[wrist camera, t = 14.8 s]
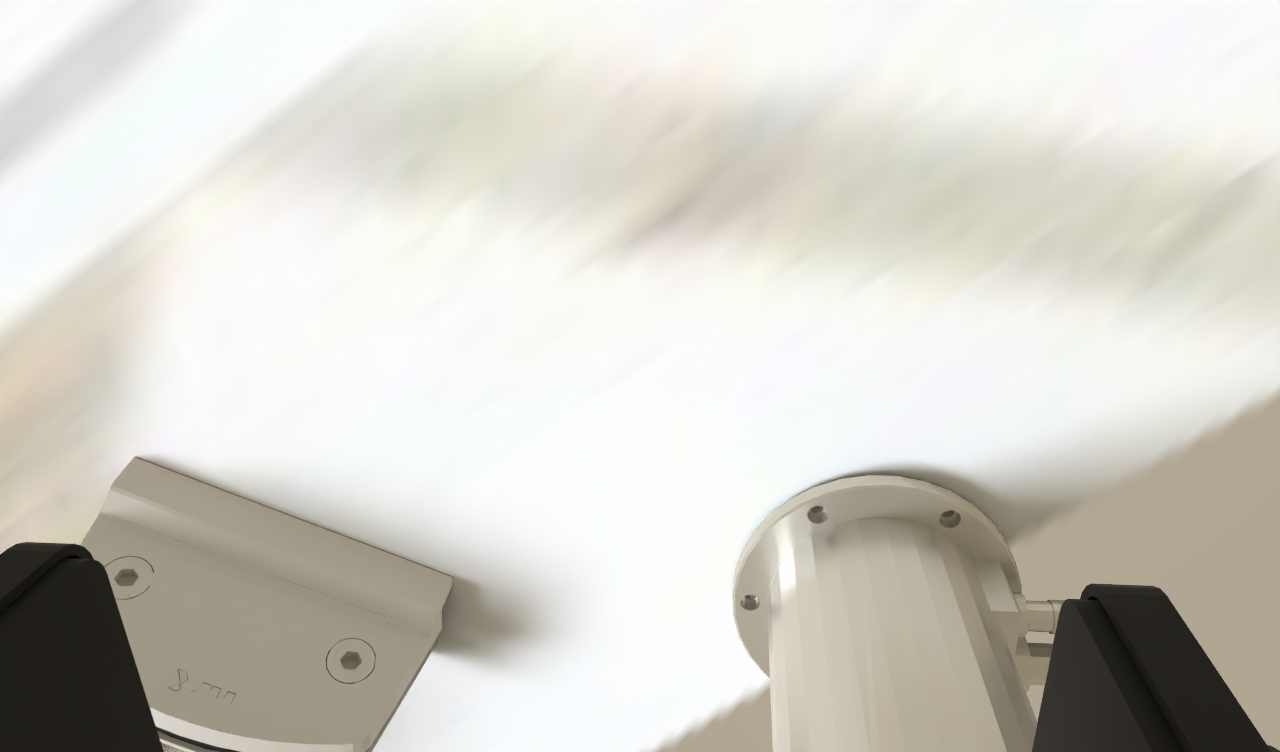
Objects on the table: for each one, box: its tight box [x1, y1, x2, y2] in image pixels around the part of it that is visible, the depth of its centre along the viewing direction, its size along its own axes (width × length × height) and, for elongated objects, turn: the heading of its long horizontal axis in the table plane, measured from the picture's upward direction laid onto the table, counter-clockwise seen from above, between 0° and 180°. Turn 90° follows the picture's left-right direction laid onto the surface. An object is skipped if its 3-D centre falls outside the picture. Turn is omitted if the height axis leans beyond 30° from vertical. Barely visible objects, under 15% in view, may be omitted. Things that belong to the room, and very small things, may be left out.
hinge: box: [80, 457, 453, 752], centre depth 42 cm, size 17×5×10 cm, turn 69°
